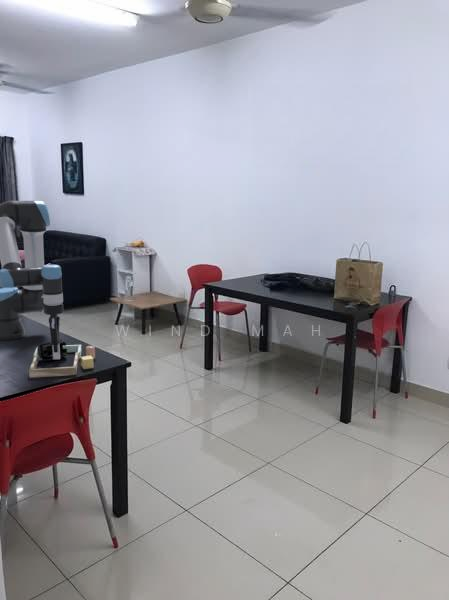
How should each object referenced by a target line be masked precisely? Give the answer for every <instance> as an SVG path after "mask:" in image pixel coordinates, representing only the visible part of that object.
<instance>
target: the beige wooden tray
mask: <svg viewBox="0 0 449 600" xmlns="http://www.w3.org/2000/svg"><path fill="white" fill-rule="evenodd" d="M79 361H80V359H79V358H78V352H75V356H74V360H73V366H62V367H61V366H60V367H47V368H46V367H44V368H37V366H38V364H39V357H38V355H35V357H34V356H33V360H32V362H31V364H30V367H29V369H28V374H29V379H31V378H32V379H33V378H45V377H46V378H47V377H48V378H51V377H62V376H63V377H65V376H75V375H77V373H78V371H77V370H78V366H79Z"/></svg>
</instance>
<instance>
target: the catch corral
mask: <svg viewBox="0 0 449 600" xmlns="http://www.w3.org/2000/svg"><path fill="white" fill-rule="evenodd" d="M37 348H38V346H37V347H35V351H34V353H33V358H34V357H35V355H38V351H37ZM63 348H65V349H67V353H78V358H79V360H81V357H82V351H83V350H82V344H69V345H67V344H66V346H63ZM38 358H40V357H39V355H38Z"/></svg>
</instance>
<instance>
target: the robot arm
mask: <svg viewBox="0 0 449 600" xmlns="http://www.w3.org/2000/svg"><path fill="white" fill-rule="evenodd" d="M50 221H51V220H50V214H49V210H48V207H47V205H46V202H44V201H41V200H6V201H4V202H2V203H0V265H1V269H0V341H4V342H5V341H14V340H18V339H21V338H23V337H25V336H26V329H25V326H24V325H23V322H22V320H21V315H22V314H23V315H25V314H30V313H31V314H33V313H42V312H43V313H44V314H45V315H47V316H48V315H49V318H48V323H49V330H50V331H49V332H50V340H51V341H50V342H51V343H50V345H52V350H53V360H61V358H60V344H59V343H61V341H59V340H61V338H60V320H61V316H59V315H61V314H63V313H64V311H65V310H64V309H65V308H64V304H63V302H64V294H63V280H62V279H63V278H62V277H63V276H62V275H63V273H62V267H61V266H60V265H59V264H45V254H44V253H45V252H44V249H45V248H44V233H46V232H47V228H48V227H50V225H51V222H50ZM18 227H19V231H20V233H22V235H23V249H24V251H23V252H24V254H23V256H24V267H23V266H22V262H21V256H20V251H19V248H18V247H19V246H18V244H17V239H16V234H15V228H18ZM19 288H22V289H19Z"/></svg>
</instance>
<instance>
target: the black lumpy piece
mask: <svg viewBox="0 0 449 600" xmlns="http://www.w3.org/2000/svg"><path fill="white" fill-rule="evenodd" d="M59 341H61V343H59V344H60V359H61V358H65V357H67V356H68V354H67V353H68V352H67V349H65V348H63V346H66V345H67V343H66V341H62V339H59ZM50 343H51V341H50V342H46V343H40V344H39V345H37V347H38V348H37V347H36V348H37V351H38V355H39V357H38V358H40V359H41V360H43V361H46V362H50V361H52V360H53V350H52V345H50Z"/></svg>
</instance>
